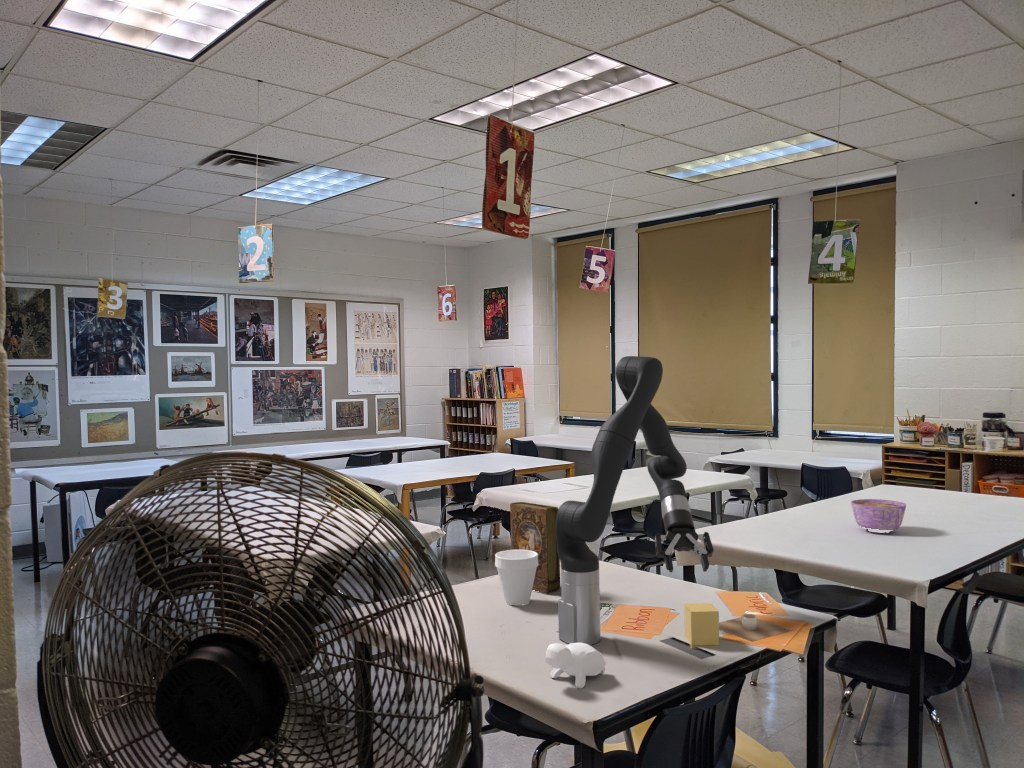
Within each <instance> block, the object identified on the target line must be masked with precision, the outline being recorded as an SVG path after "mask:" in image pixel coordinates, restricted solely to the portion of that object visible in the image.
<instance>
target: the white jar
mask: <svg viewBox="0 0 1024 768" xmlns="http://www.w3.org/2000/svg"><path fill="white" fill-rule="evenodd" d="M741 617H742V628H743V629H746V630H756V629H757V619H758V616H757V615H755V614H752V613H745V614H742V615H741Z"/></svg>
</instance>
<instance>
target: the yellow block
mask: <svg viewBox="0 0 1024 768" xmlns="http://www.w3.org/2000/svg"><path fill="white" fill-rule="evenodd" d="M683 606H684V611H683V612H684V637H685V638H686V640H687V641H688V642H687V643H688V644H689V646H690V647H691V648H692V649H702V648H700V647H698V646H720V630H719V622H720V616H719V615H720V613H719V612H720V611H719V610H718V608H716V607H715V605H713V603H711V602H706V603H705V602H700V603H699V602H698V603H695V602H694V603H684V605H683Z"/></svg>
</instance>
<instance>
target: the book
mask: <svg viewBox="0 0 1024 768" xmlns="http://www.w3.org/2000/svg"><path fill="white" fill-rule="evenodd" d="M558 509H559V507H558V506H553V505H547V504H540V503H539V504H538V503H534V502H525V501H517V502H511V503H510V505H509V510H510V515H509V516H510V550H530V551H534V552H536V553H537V554H538V566H537V568H536V573H535V578H534V582H533V587H532V590H535V591H534V592H536V591H539V592H538V593H540V592H542V593H541V594H545V593H546V594H548V593H549V592H553V591H558V590H560V589H561V562H560V559H559V557H558V552H557V538H556V516H557V512H558Z"/></svg>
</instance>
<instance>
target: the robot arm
mask: <svg viewBox="0 0 1024 768" xmlns="http://www.w3.org/2000/svg"><path fill="white" fill-rule="evenodd" d="M663 368H664V367H663V364H662V361H661V360H660V359H659V358H656V357H653V356H638V355H637V356H636V355H634V356H633V355H629V356H628V355H627V356H623V357H621V358H620V359H619V360H618V362H617V364H616V367H615V378H616V382H617V385H618V387H619V388H620V391H621V393H622V394H623V396H624V399H625V400H626V402H625V403H624V404H623V405H622V406H621V407H620V408H618V410H616V412H614V413H613V414H611V415H610V416H609V418H607V419H606V420H605V421H604V423H602V425H601V426H600V428H599V431H598V433H597V435H596V438H595V439H594V442H593V445H592V447H591V465H592V472H593V483H592V487H591V489H590V492H589V495H588V496H587V497H588V498H587V500H586V502H585V501H579V500H566V501H564V502H563V503H562V504H561V505H560V506H559V507H558V512H557V516H556V538H557V552H558V557H559V559H560V589H561V594H560V595H561V599H558V600H557V601H558V602H557V606H558V607H557V609H558V610H557V613H558V639H559V640H561V641H563V642H565V643H567V645H568V644H570V643H585V644H588V645H590V646H591V645H594V644H598V643H599V642H600V641H601V597H600V594H601V593H600V559H599V556H598V555H597V554H596V553H595V552H593V550H592V549H590V548H589V546H588V544H587V543H594V542H596V541H598V540H599V538H601V536H602V535H603V532H604V531H605V528H606V526H607V523H608V520H609V515H610V513H611V509H612V504H613V501H614V497H615V494H616V491H617V488H618V486H619V482H620V479H621V477H622V474H623V471H624V468H625V467H626V464H627V462H628V460H629V457H630V454H631V452H632V449H633V446H634V443H635V441H636V438H637V435H638V433H639V431H640V430H641V432H642V433H641V434H642V435H643V439H644V441H645V445H646V448H647V451H648V452H649V453H650V454H651V455H653V456H654V457H651V458H650V459H649V461H648V462H647V472H648V474H649V476H650V478H651V479H652V481H653V482H654V485H655V486H656V489H657V492H658V495H659V496H658V497H659V500H660V504H661V505H660V506H661V507H660V508H661V516H662V517H661V518H662V521H663V525H664V531H665V534H661V533H659V532H656V533H655V536H654V546H655V554H656V555H655V556H656V558H658V559H660V558H661V559H663V560H664V564H665V569H666V570H667V571H668V572H669V573H673V572H674V565H673V559H672V555H673V554H674V552H675V551H677V552H678V553H679V552H683V551H684V552H690V551H691V552H692V553H693V554H695V555H697V556H699V558H700V563H701V567H702V571H703V572H707V571H708V570H709V567H710V561H709V558H711V557H712V556H713V554H714V546H713V542H712V539H711V536H710V534H709V532H707V531H705V532H703V533H701V534H700V533H699V534H698V533H697V531H696V529H695V525H694V519H693V516H692V510H691V507H690V504H689V501H688V497H687V494H686V489H685V485H684V484H683V482H682V481H680V480H678V478H682V477H683V476H685V474H686V473H687V466H688V465H687V463H686V460H685V458H684V457H683V455H682V454H681V452H680V451H679V450H678V449H677V447H676V446H675V444H674V442H673V439H672V436H671V433H670V428H669V426H668V424H667V422H666V420H665V418H664V417H663V415H662V414H661V413H660V412H659V411H658V409H656V407H654V406H653V404H652V403H653V400H654V398H655V396H656V394H657V392H658V390H659V387H660V385H661V382H662V380H663V372H664V369H663ZM664 541H665V542H666V543H667V544H668V547H667V549H666V550H663V545H662V544H664ZM699 541H700V542H701V543H702V544H703V546H704V547H703V546H702V544H701V543H700V542H699Z"/></svg>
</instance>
